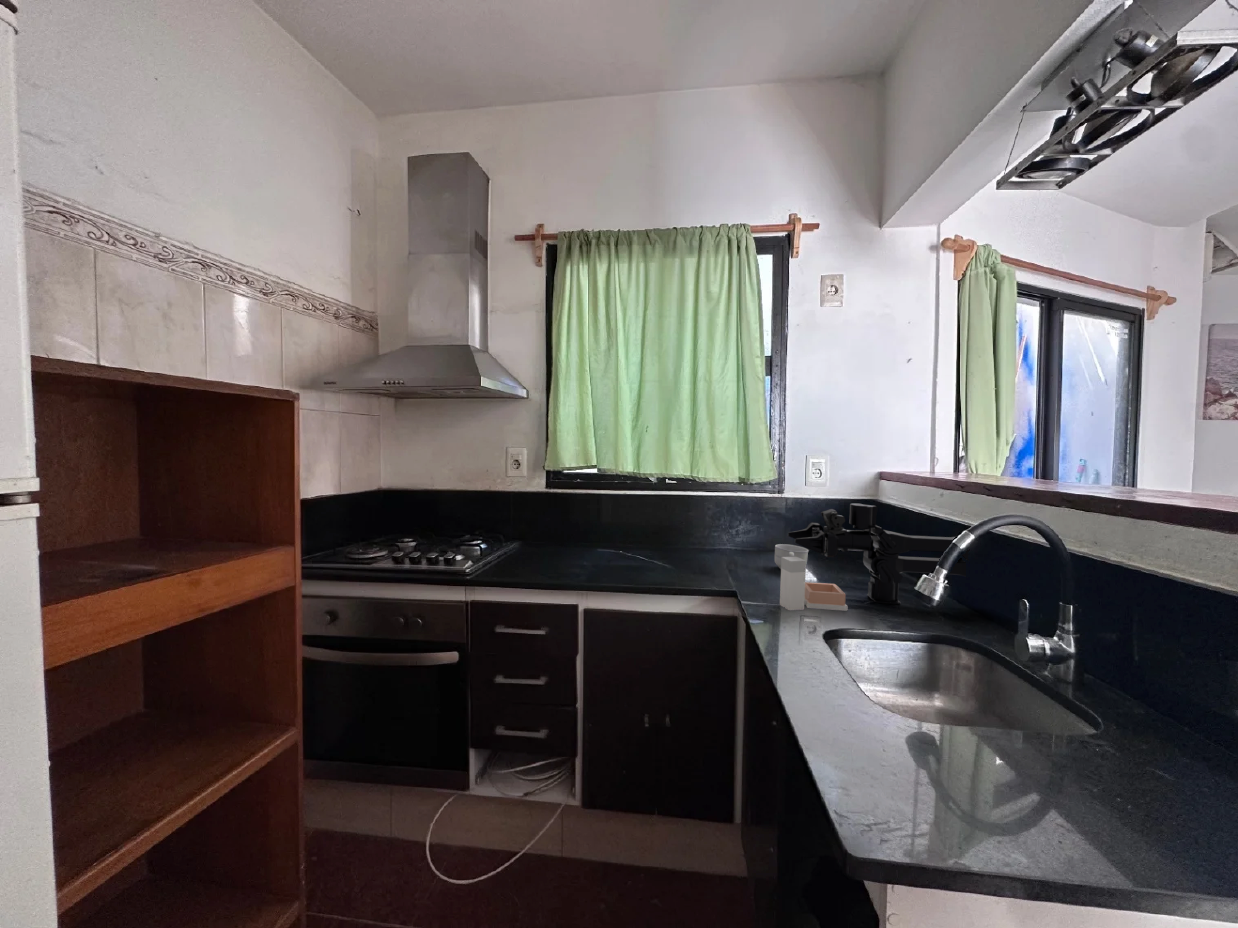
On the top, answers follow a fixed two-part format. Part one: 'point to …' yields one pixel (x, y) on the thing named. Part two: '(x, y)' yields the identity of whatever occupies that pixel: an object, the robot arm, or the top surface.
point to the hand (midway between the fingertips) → (791, 537)
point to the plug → (792, 583)
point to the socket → (824, 596)
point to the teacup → (789, 552)
